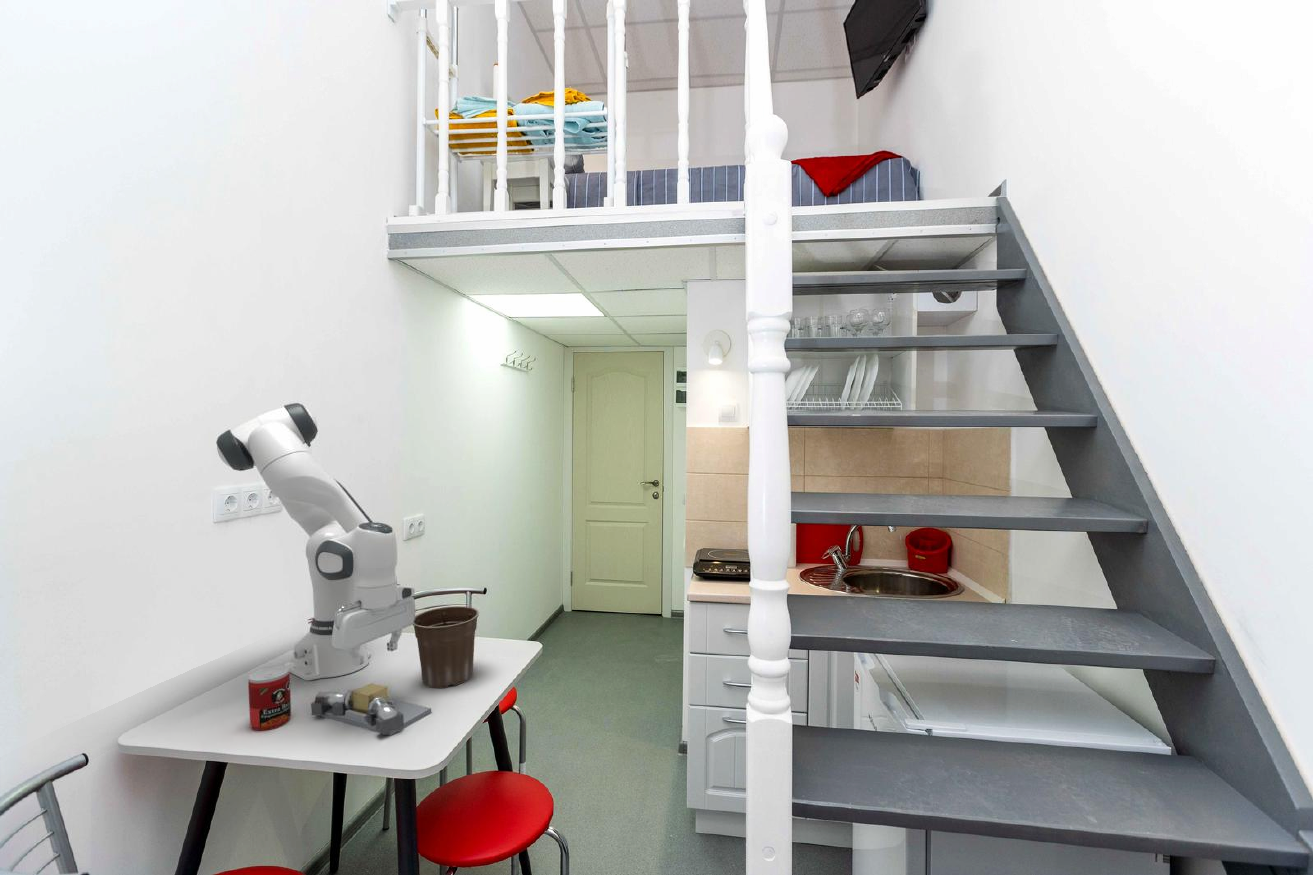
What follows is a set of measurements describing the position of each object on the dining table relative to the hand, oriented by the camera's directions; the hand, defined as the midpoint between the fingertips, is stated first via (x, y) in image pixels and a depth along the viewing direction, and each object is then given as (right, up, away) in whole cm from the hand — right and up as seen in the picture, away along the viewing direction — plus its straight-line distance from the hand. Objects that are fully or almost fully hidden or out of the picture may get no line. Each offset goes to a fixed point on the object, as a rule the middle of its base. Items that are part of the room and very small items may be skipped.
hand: (375, 657), depth 137 cm
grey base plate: (-1, -13, -1) cm, 13 cm away
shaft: (-9, -13, 0) cm, 16 cm away
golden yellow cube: (-1, -12, -1) cm, 12 cm away
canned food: (-22, -14, -3) cm, 26 cm away
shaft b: (+5, -13, -7) cm, 15 cm away
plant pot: (+10, -12, +18) cm, 24 cm away
